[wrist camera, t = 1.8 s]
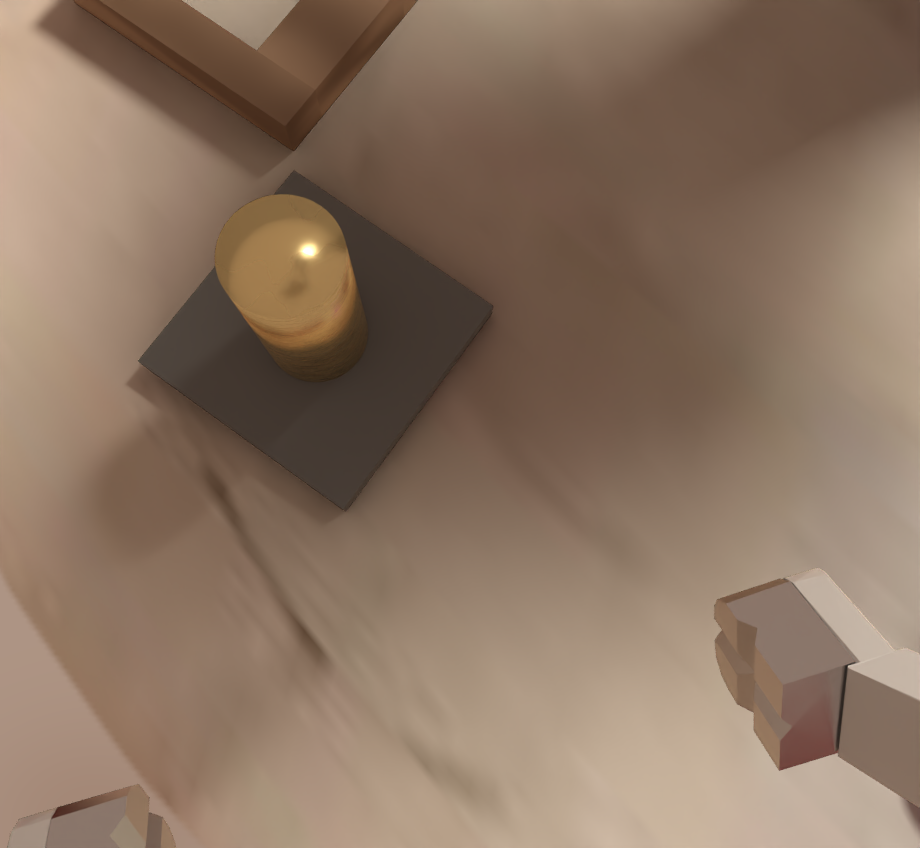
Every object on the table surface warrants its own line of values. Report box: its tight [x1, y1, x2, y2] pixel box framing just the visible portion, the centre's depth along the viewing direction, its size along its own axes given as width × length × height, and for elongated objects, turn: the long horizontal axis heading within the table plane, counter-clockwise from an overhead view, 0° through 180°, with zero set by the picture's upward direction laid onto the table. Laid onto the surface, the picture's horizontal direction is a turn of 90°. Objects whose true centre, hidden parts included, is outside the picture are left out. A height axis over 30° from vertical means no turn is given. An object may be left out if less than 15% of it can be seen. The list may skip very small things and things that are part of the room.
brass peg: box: [215, 194, 368, 382], centre depth 30 cm, size 4×4×8 cm
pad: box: [138, 171, 493, 512], centre depth 34 cm, size 10×10×1 cm
